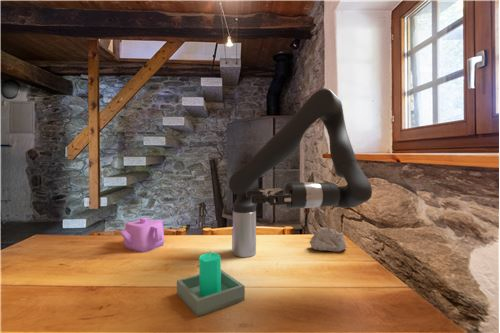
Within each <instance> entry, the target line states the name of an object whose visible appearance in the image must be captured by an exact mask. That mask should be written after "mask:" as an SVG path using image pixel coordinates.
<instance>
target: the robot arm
mask: <svg viewBox="0 0 500 333" xmlns="http://www.w3.org/2000/svg"><path fill="white" fill-rule="evenodd" d="M319 119H320V120H321V121H322V123H323V125H324V127H325V129H326V132H327V135H328V139H329V140H328V141H329V152H330V156H331V161H332V163H333V167H334V170H335V173H336V176H338V177H339V178H341V179H343V178H344V180H345V181H346V185H343V186H340V185H339V186H338V185H337V184H336V183H334V182H310V181H305V182H304V181H303V182H302V181H301V182H298V181H297V182H296V181H295V182H287V183H286V185H285V189H281V188H279V187H278V188H277V187H276V188H259V178H261V177H262V176H263V175H264V174H266V173H267V172H269V171H270V170H272V169H274V168H275V167H277V166H278V165H280V164H281V163H283V162H284V161H286V159H288V158H289V157H290V156H291V155H292V154H293V153H294V152H295V151H296V150H297V149H298V147H299V145H300V143H301V141H302V140H303V137H304V135H305V133H306V131H307V130H308V129H309V128H310V127H311V126H312V125H313V124H314V123H315V122H316V121H317V120H319ZM228 180H229V181H228V188H229V191H230V192H231V193H233V194H234V195H237V196H236V199H235V201H234V202H233V203H232V227H231V246H232V247H231V251H232V254H233V255H234V256H235V257H239V258H249V257H253V256H255V255H256V254H257V205H258V204H265V205H270V206H279V205H286V207H287V208H288V209H290V210H291V209H292V210H293V209H312V208H313V209H314V208H321V207H337V208H344V209H345V208H346V209H347V208H351V209H352V208H356V207H358V206H360V205H362V204H364V203H366V202H368V201H369V200H370V199H371V198H372V194H373V189H372V183H370V181H369V179H368V177H367V176H366V175H365V173H364V171H363V170H362V168H361V167H360V166H359V163H358V161H357V157H356V154H355V152H354V149H353V145H352V143H351V140H350V137H349V134H348V131H347V127H346V122H345V115H344V108H343V104H342V100H341V99H340V98H339V97H338V96H337V95H336V94H335V93H334V92H333V91H332V90H331V89H329V88H320V89H318V90H316V91H315V92H313V93H312V94H311V96H309V97H308V98H307V100H305V102H304V103H303V105H302V106H301V107H300V108H299V109H298V111H297V112H296V113H295V114H294V115H293V116H292V117H291V118H290V119H289V120H288V121H287V122H286V123H285V124H284V125H283V127H281V128H280V129H279V130H278V131H277V132H276V133H275V134H273V136H272V137H271V138H270V139H269V140H267V142H266V143H265V144H263V146H262V147H261V148H260V149H259V150H258V151H257V152H256V153H255V155H253V156H252V158H250V160H248V161H247V163H245V164H244V165H242V166H241V167H240V168H239V169H237V170H236V171H235V172H233V173H232V174H231V176H230V177H229V179H228Z"/></svg>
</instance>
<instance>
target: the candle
mask: <svg viewBox="0 0 500 333" xmlns="http://www.w3.org/2000/svg"><path fill="white" fill-rule="evenodd" d="M221 260H222V258H221V255H220V254H218V253H216V252H207V253H203V254H201V255H200V256H199V258H198V262H199V263H198V269H199V270H198V272H199V273H198V274H199V282H200V296H201V297H205V296H208V295H211V294H214V293H217V292H220V291H221V270H222V266H221V264H222V261H221Z"/></svg>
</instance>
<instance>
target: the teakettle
mask: <svg viewBox="0 0 500 333" xmlns="http://www.w3.org/2000/svg"><path fill="white" fill-rule="evenodd" d="M124 227H125V228H124V229H122V230H121V231H119V233H120V235H121V236H122V237H123V246H124V247H125V249H129V250H130V251H135V252H140V253H146V252H149V251H152V250H156V249H157V248H160V247H163V246H164V243H165V234H164V232H165V229H164V220H163V219H156V220H155V219H149V218H148V217H140V218H139V219H138V220H134V221H126V222H125V226H124Z"/></svg>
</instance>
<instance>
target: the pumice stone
mask: <svg viewBox="0 0 500 333" xmlns="http://www.w3.org/2000/svg"><path fill="white" fill-rule="evenodd" d="M309 244H310V247H311V248H312V249H313V250H315V251H316V250H318V251H330V252H338V253H339V252H343V251H344V250H345V249H346V248H348V247H347V242H346V240H345V236H344V233H343V232H338V231H337V230H335V229H333V228H330V227H320V228H319V229H317V230H316V231H315V232H314V234H313V235H312V236H311V239H310V240H309Z"/></svg>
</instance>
